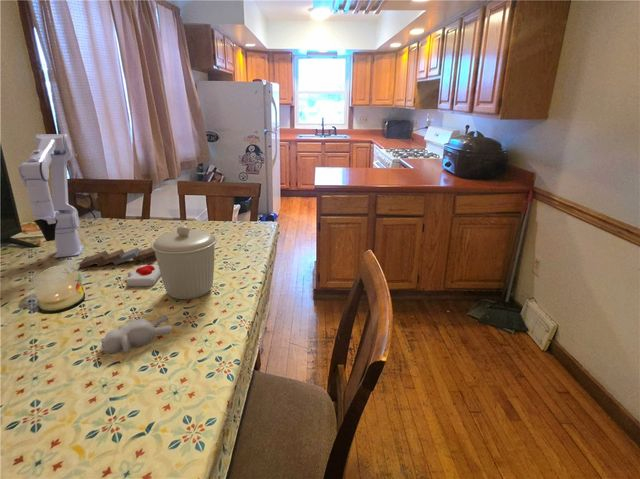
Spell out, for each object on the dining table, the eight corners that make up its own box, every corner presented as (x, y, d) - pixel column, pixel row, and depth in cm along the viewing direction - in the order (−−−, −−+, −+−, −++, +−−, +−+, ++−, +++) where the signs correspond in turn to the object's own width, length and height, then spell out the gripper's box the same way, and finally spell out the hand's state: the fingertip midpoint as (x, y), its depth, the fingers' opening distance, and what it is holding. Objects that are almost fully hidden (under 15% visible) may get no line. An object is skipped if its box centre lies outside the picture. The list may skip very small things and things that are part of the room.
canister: (231, 283, 121) (227, 220, 114) (197, 311, 105) (189, 240, 98) (184, 274, 127) (177, 214, 119) (144, 300, 111) (133, 231, 103)
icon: (133, 259, 128) (164, 259, 129) (135, 271, 129) (165, 271, 130) (118, 275, 116) (151, 275, 117) (120, 288, 118) (153, 287, 119)
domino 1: (79, 264, 129) (102, 255, 130) (83, 258, 134) (106, 250, 135) (81, 268, 130) (104, 259, 131) (85, 262, 135) (108, 254, 136)
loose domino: (112, 261, 132) (134, 252, 133) (116, 255, 137) (137, 247, 137) (114, 265, 133) (136, 256, 133) (119, 259, 138) (140, 251, 138)
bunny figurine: (98, 327, 91) (163, 305, 97) (105, 344, 93) (168, 322, 99) (99, 348, 83) (170, 323, 89) (107, 366, 85) (175, 341, 91)
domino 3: (132, 257, 134) (155, 250, 135) (134, 252, 139) (156, 245, 140) (134, 261, 135) (156, 254, 136) (136, 256, 139) (158, 249, 141)
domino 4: (140, 259, 136) (164, 256, 138) (141, 254, 140) (164, 251, 143) (140, 263, 136) (164, 260, 139) (141, 258, 141) (164, 255, 143)
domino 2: (96, 262, 131) (118, 254, 132) (100, 257, 135) (122, 248, 136) (98, 266, 132) (121, 258, 132) (102, 261, 136) (124, 252, 137)
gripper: (62, 201, 120) (71, 242, 124) (48, 194, 129) (57, 232, 133) (36, 205, 115) (46, 248, 119) (23, 198, 124) (33, 237, 128)
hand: (50, 240), depth 126 cm, fingers closed
